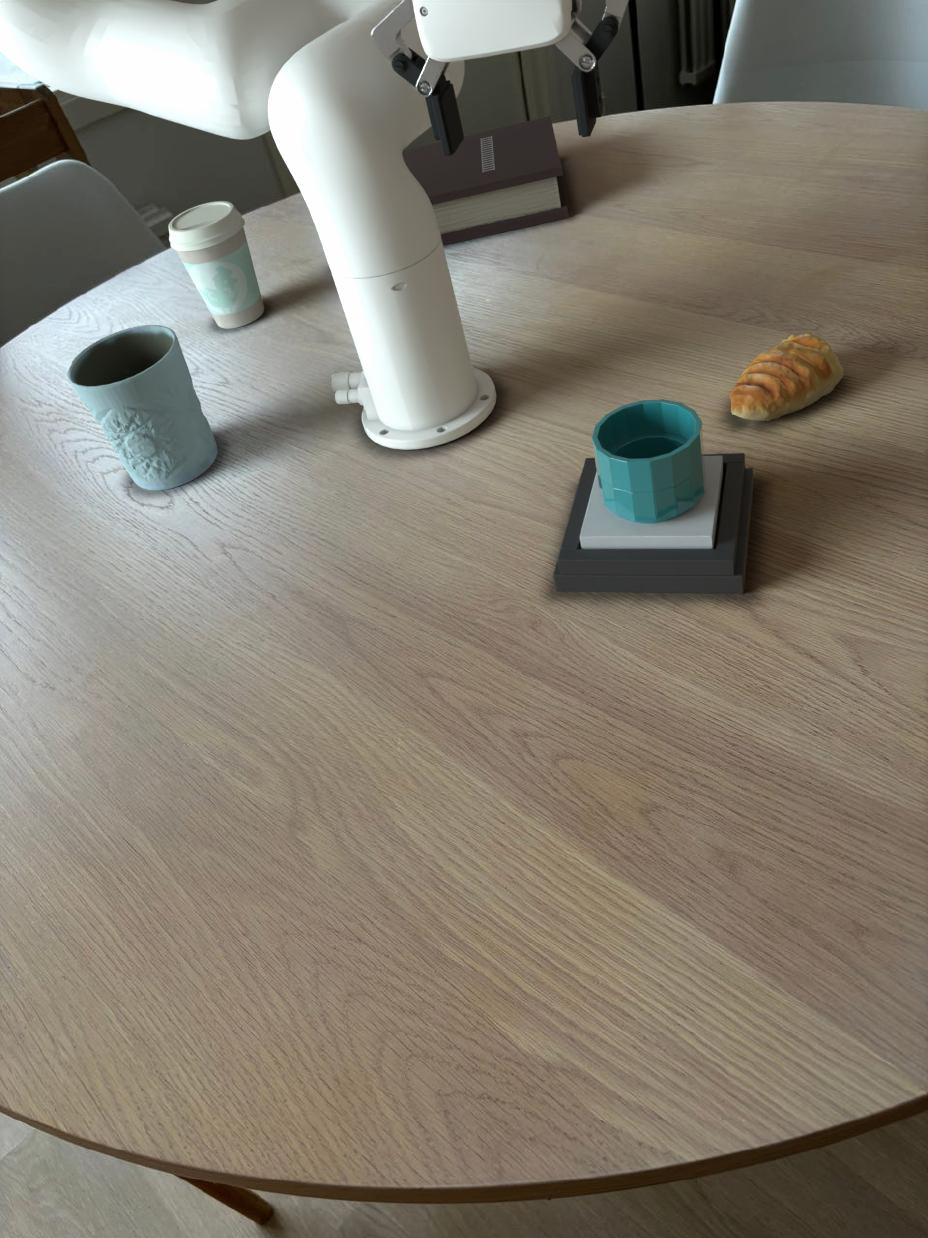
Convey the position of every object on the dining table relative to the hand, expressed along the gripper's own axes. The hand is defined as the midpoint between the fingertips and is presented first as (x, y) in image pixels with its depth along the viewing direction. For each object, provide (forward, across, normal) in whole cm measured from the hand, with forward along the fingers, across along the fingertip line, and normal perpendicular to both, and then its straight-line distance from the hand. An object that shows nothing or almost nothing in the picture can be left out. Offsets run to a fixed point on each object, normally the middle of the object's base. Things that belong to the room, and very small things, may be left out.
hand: (519, 138), depth 70 cm
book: (+24, +24, -49) cm, 60 cm away
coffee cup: (+24, +44, -26) cm, 57 cm away
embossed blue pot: (+24, +38, +3) cm, 45 cm away
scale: (+24, -9, +14) cm, 29 cm away
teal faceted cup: (+20, -9, +14) cm, 26 cm away
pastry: (+24, -18, -4) cm, 30 cm away
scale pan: (+22, -9, +14) cm, 28 cm away
